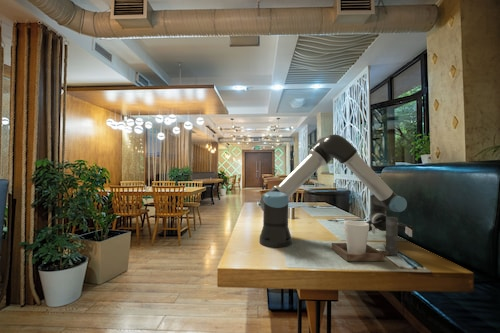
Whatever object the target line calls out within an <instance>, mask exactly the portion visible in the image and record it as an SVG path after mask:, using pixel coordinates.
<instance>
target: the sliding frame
mask: <svg viewBox="0 0 500 333" xmlns="http://www.w3.org/2000/svg"><path fill="white" fill-rule="evenodd" d="M398 219H399V218H398V217H395V216H387V217H386V231H385V249H384V250H377V248H374V247H372V246H371V245H369V244H366V251H365V253H348V251H347V244H346V242H331V250H333V252H335V253H336V254H337V255H339V256H340V257H341V258H343V259H344V260H345V261H346V262H382V261H383V262H385V255H386V256H388V255H389V256H398V251H399V250H398V247H399V245H398V243H399V242H398V239H399V238H398V234H399V230H398V222H399V220H398Z"/></svg>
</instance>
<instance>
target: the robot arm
mask: <svg viewBox="0 0 500 333" xmlns="http://www.w3.org/2000/svg"><path fill="white" fill-rule="evenodd" d="M308 154H309V155H307V157H305V158H304V159H303V160H302V161H301V162H300V163H299V164H298V165H297V166H296V167H295V168H294V169H293V171H291V172H290V174H288V175H287V176H286V177H285V178H284V179H283V181H281V182H280V183H279V185H278V184H277V185H274V186H272V187H271V188H270V189H269V190H268V191H267V192H265V193H264V194H263V195H262V196H261V198H260V200H259V205H260V208H261V210H262V212H263V215H262V216H263V220H262V221H263V222H262V223H263V224H262V225H263V226H262V229H261V233H260V235H259V243H260V245H262V246H265V247H269V248H270V247H271V248H285V247H288V246H291V245H292V244H293V243H292V241H293V239H292V238H293V237H292V236H291V235H292V234H291V232H290V228H289V203H290V201H291V197H292V196H293V195H294V194H295V193H296V191H298V190H299V189H300V188H301V187H302V186H303V185H304V184H305V183H306V182H307V181H308V180H309V179H310V178H311V177H312V176H313V174H314V173H316V172H317V170H319V168H320V167H321V166H327V165H328V164H329V163H330V162H331V161H332V160H333V159H335V160H337V161H338V162H339V163H340V164H341V165H344V166H346V167H347V168H348V170H350V172H352V173H353V175H354V176H355V177H356V178H357V179H358V180H359V181H360V182H361V183H362V184H363V185H364V186H365V187H366V188H367V189H368V190H369V191H370V196H369V197H370V198H369V200H370V210H369V212H370V213H369V216H368V218H369V220H368V221H365V222H366V223H368V224H369V231H368V232H371V233H372V234H374V235H375V234H376V229H377V230H378V231H382V232H386V217H388V215H387V210H389V211H392V212H396V213H402V212H403V211H405V210H406V208H407V207H408V206H407V205H408V203H407V200H406V199H405V197H402V196H400V195H397V194H396V193H395V192H394V191H393V190H392V189H391V187H390V186H388V184H386V182H385V181H384V180H383V179H382V178H381V177H380V176H379V175H378V173H376V172H375V171H374V169H373V168H372V167H370V166H369V165H368V163H367V162H366V161H365V160H364V159H363V158H362V157H361V155H360V154H358V149H357V148H356V147H355V146H354V145H352V143H350V142H349V141H348V140H347V139H346V138H345V137H343V136H342V135H339V134H329V135H327V136H325V137H321V138H319V139H318V140H316V141H315V143H314V145H313V147H311V149H310V150H309V153H308ZM399 231H400V232H404V233H405V235H408V237H411V238H413V234H414V233H415V226H412V225H410V224H408V225H407V224H405V223H402V222H399V221H398V232H399Z"/></svg>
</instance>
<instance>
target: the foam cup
mask: <svg viewBox="0 0 500 333" xmlns="http://www.w3.org/2000/svg"><path fill="white" fill-rule="evenodd" d="M366 222H367V221H360V220H345V221H343V229H344V235H345V243H346V244H347V250H346V252H347V253H366V244H367V242H368V239H369V238H368V237H369V232H370V231H369V224H368V223H366ZM367 245H368V244H367Z"/></svg>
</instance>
